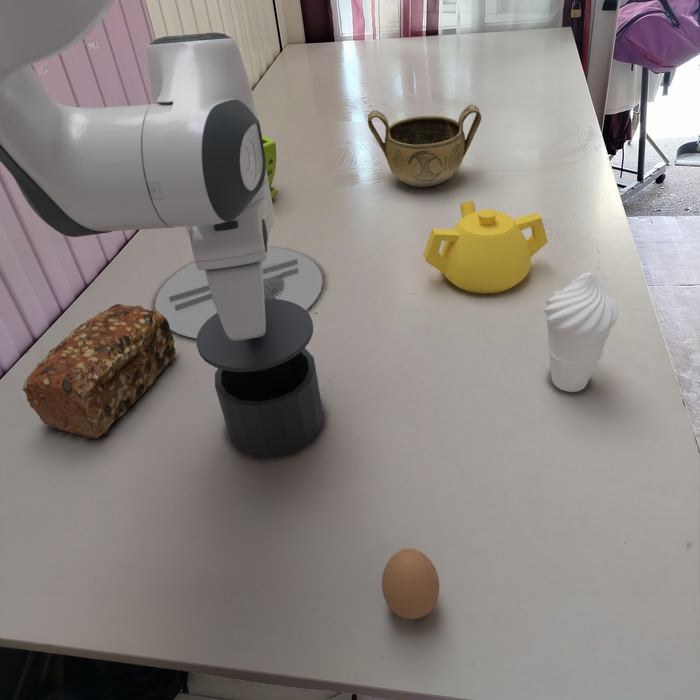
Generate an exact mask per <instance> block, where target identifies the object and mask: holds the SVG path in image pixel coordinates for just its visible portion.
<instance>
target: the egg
mask: <svg viewBox="0 0 700 700" xmlns="http://www.w3.org/2000/svg"><path fill="white" fill-rule="evenodd" d="M381 590H382V594H383V595H382V596H383V597H384V600H385V603H386V604H387V606H388V607H389V608H390V610H391V611H392V612H393V613H394V614H396V615H397V616H399V617H401V618H402V619H408V620H417V619H421V618H423V617H425V616H426V615H428V614H429V613H430V612H431V611H432V610H433V608H434V607H435V606H436V603H437V601H438V598H439V595H440V579H439V575H438V572H437V568H436V566H435V565H434V563H433V561H432V560H431V559H430V558H429V557H428V556H427V554H425V553H424V552H422V551H420V550H418V549H415V548H404V549H400V550H398V551H397V552H396V553H394V554H393V555H392V556H391V557H390V558H389V560H388V561H387V563H386V564H385V566H384V568H383V572H382V577H381Z"/></svg>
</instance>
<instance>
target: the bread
mask: <svg viewBox="0 0 700 700" xmlns="http://www.w3.org/2000/svg"><path fill="white" fill-rule="evenodd" d="M175 341H176V340H175V339H174V336H173V332H172V331H171V330H170V328H169V323H168V321H167V319H166V318H165V317H164V316H163V315H162V314H161V313H159V312H158V311H156V309H154V310H151V309H147V308H144V307H143V306H141V305H136V306H134V305H128V304H121V303H117V304H114V305H111V306H110V307H109V308H107V309H106V310H104V311H101V312H98V313H97V314H96V315H95V316H93V317H91V318H89V319H88V320H86V321H85V322H82V323H81V324H80V325H79V326H78V327H76V328H74V329H73V330H72V331H71V332H70V334H69V335H68V336H66V337H65V338H64V339H63V340H61V341H60V342H59V343H58V344H57V345H56V346H55V347H53V348H51V349H50V350H49V351H48V354H47V355H46V356H45V357H44V358H43V359H42V360H41V362H37V364H36V365H37V366H36V367H35V368H34V369H33V370H32V371H31V373H30V375H28V376H27V378H26V379H25V380H24V383H23V386H22V388H23V389H21V390H22V391H23V392H24V393H25V395H26V401H27V403H29V406H30V407H31V408H32V410H34V411H35V413H36V415H37V416H38V417H39V419H40V420H41V421H42V422H43V424H45V425H47V426H49V427H51V428H53V429H56V430H58V431H63V432H65V433H70V434H73V435H76V436H80V437H84V438H88V439H98V438H100V437H101V436H102V435H104V434H107V433H108V430H109V428H110V426H111V425H112V424H113V423H114V422H116V421H117V420H118V419H119V418H121V417H122V416H124V415H125V413H126V412H127V411H128V410H130V408H131V407H132V406H133V404H135V402H137V401H138V399H139V398H140V397H142V395H144V393H146V391H147V390H148V389H149V388H150V387H151V386H152V385H153V384H154V383H155V381H156V379H157V378H158V376H160V375H161V372H163V371H165V368H166V366H167V365H168V364H169V363H170V362H172V361H173V359H174V357H175V355H176V348H175Z"/></svg>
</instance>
